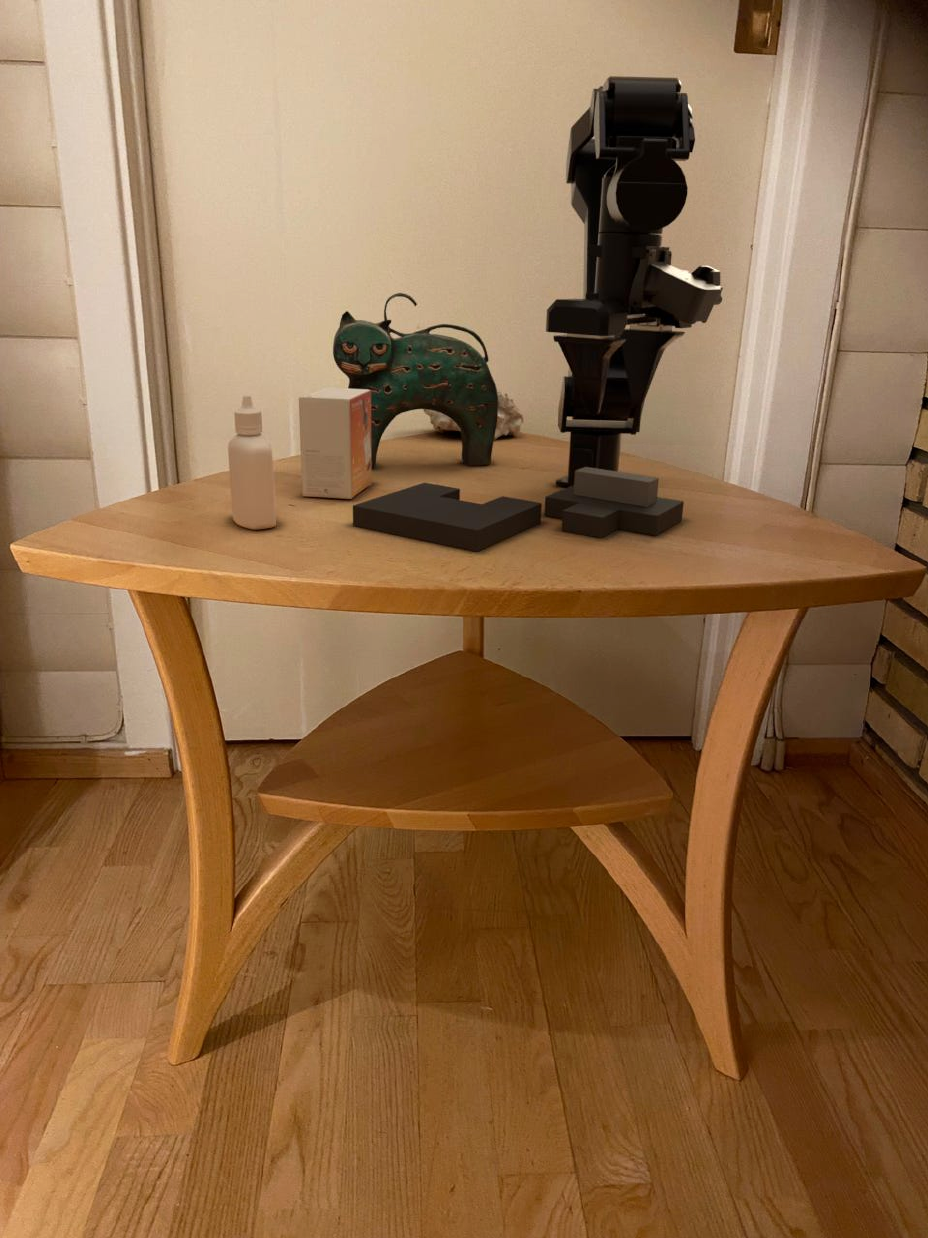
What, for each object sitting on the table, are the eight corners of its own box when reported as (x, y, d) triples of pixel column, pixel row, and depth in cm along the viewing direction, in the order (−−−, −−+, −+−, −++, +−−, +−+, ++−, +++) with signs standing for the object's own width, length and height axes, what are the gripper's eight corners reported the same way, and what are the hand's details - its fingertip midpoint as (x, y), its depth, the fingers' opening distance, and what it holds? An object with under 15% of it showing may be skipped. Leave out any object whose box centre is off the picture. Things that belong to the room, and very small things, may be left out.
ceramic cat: (337, 472, 113) (333, 292, 105) (331, 460, 118) (326, 289, 111) (500, 467, 117) (506, 295, 110) (486, 456, 123) (492, 292, 116)
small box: (351, 501, 101) (349, 399, 97) (300, 497, 102) (297, 396, 98) (373, 483, 108) (372, 388, 104) (326, 480, 109) (323, 385, 105)
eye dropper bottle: (279, 515, 95) (273, 391, 90) (275, 531, 90) (268, 400, 85) (234, 515, 94) (225, 391, 90) (227, 531, 89) (218, 400, 85)
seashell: (420, 421, 130) (432, 353, 132) (413, 445, 139) (424, 381, 141) (523, 442, 132) (534, 375, 133) (510, 465, 141) (520, 401, 143)
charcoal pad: (424, 500, 101) (424, 482, 101) (541, 522, 94) (542, 502, 94) (352, 525, 92) (352, 505, 91) (476, 551, 85) (477, 530, 84)
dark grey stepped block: (574, 501, 102) (577, 460, 101) (682, 520, 97) (686, 476, 95) (525, 523, 94) (527, 478, 92) (640, 545, 88) (644, 497, 86)
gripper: (669, 231, 75) (650, 430, 81) (753, 238, 90) (732, 407, 95) (547, 230, 81) (538, 416, 87) (644, 236, 96) (631, 396, 101)
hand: (616, 408), depth 92 cm, fingers open, 9 cm apart
